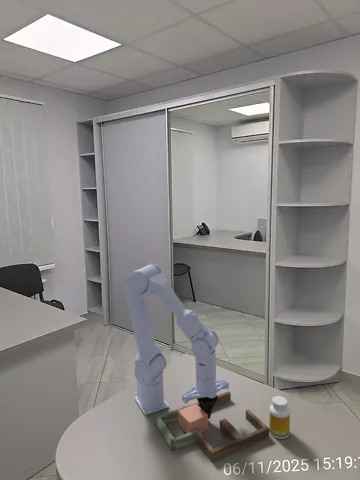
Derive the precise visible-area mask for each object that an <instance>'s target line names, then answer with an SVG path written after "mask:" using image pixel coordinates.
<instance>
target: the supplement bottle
mask: <svg viewBox="0 0 360 480" xmlns="http://www.w3.org/2000/svg"><path fill="white" fill-rule="evenodd" d="M271 400H272V401H271V402H272V403H271V405H270V406H269V417H268V418H269V419H268V428H269V435H271V436H272V437H274V438H276V439H279V440H280V439H281V440H284V439H286V438H288V437H289V436H290V430H291V429H290V426H291V425H290V423H291V409H290V408H289V406H288V400H287V398H286V397H284V396H282V395H277V396H273V397H272V398H271Z"/></svg>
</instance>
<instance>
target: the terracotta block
mask: <svg viewBox="0 0 360 480" xmlns="http://www.w3.org/2000/svg"><path fill="white" fill-rule="evenodd" d="M192 404H193V405H191V404H190V405H191V406H189V407H186V406H185V407H186V408H184V409H182V410H179V411H178V426H179V428H180V429H181V430H182V431H183V432H184V433H185V434H187V433H189V432H192V431H194V430H197V429H198V430H199V432H200V433H201V434H202V433H203V432H206V431H208V430H209V419H208V414H207V413H205V412H204V411H203V410H202V409H201V408H200V407H199V406H198V405H197V404H194V403H192Z"/></svg>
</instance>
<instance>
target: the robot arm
mask: <svg viewBox="0 0 360 480" xmlns="http://www.w3.org/2000/svg"><path fill="white" fill-rule="evenodd" d="M125 282H126V291H125V299H126V303H127V308H128V311H129V316H130V320H131V325H132V329H133V334H134V338H135V342H136V347H137V354H136V355H135V358H134V362H133V363H134V370H133V371H134V376H135V378H136V390H137V396H135V397H134V400H135V401H136V403H137V405H138V406H139V408H140V409H141V412H142V413H143V414H144V416H148V415H150V414H153V413H156V412H159V411H162V410H165V409H167V408H169V407H170V405H169V404H168V402H167V400H166V399H165V397H164V395H165V394H164V393H165V392H164V370H165V369H166V367H167V364H168V363H167V360H166V357H165V355H164V354H163V352H162V348H161V347H159V346H158V345H156V342H155V337H154V332H153V328H152V323H151V319H150V315H149V309H148V305H147V301H146V296H147V295H148V296H153V297H154V296H155V297H159V299H160V300H161V301H162V302H163V304H165V305H166V307H167V308H168V309H169V310H170V311H171V312H172V313H173V314H174V316H175V317H176V323H175V324H176V325H177V326H178V327H179V329H180V331H182V333H183V334H184V335H185V336H186V338H187V339H188V341H189V342H190V343H191V344H192V345H191V346H190V348H191V351H192V353H193V354H194V356H195V357H194V358H195V385H194V386H193V387H191V388H190V389H188V390H187V391H185V392H183V393H181V401H182V402H183V403H184V404H189V402H190V401H192V400H197V402H199V404H200V407H201V409H202V410H203V411H204V412H205V413H207V414H208V420H210V419H211V415H212V412H213V410H214V407H215V406H214V405H215V403H216V402H217V400H218V396H217V393H219V392H220V391H221V390H224V389H225V390H228V389H230V382H229V381H228V380H227V379H221V380H217V360H216V359H217V358H216V354H217V353H216V348H217V346H218V344H219V337H218V336H217V334H216V332H215V331H214V330H212V329H210V328H208V327H206V326H205V325H204V324H203V322H202V321H201V320H200V319H199V314H197V313H196V312H194V311H193V310H191V309H187V308H186V307H185V306H184V304H183V303H182V301H181V299H180V298H179V297H178V296H177V294H176V292H175V291H174V290H173V288H172V287H171V285H170V284H169V282H168V279H167V276H166V274H165V273H164V271H163V270H162V269H161V268H160V267H159V265H158V264H155V263H149V264H147V265H145V266H144V267H143V266H142V268H139V269H137V270H133V271H132V272H131V273H129V275H128V276H127V277H126V278H125Z"/></svg>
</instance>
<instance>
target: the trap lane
mask: <svg viewBox="0 0 360 480" xmlns="http://www.w3.org/2000/svg"><path fill="white" fill-rule="evenodd" d="M216 395H217V394H216ZM217 396H218V400H217V402H216V403H215V405H214V407H216V406H219V405H221V404H224V403H226V402H229V401H231V400H232V393H231V391H226V392H223V393H221V394H218V395H217ZM193 404H197V405H198V406H199V407H200V404H199V402H198V401H196V402H195V403H191V404H189V405H186V406H183V407H181V408H178V409H175V410H171V411H169V412H166V413H163V414H161V415H158V416H155V425H156V427H157V428H158V430H159V431H160V433H161V434H162V436H163V438H164V440H165V441H166V442H167V444H168V446H169V447H170V449H171V451H175V450H178V449H181V448H183V447H185V446H189V444H193V443H195V442H196V443H197V444H198V445H199V447H200V448H201V450H202V451H203V452H204V454H205V455H206V456H207V458H208V459H209V460H210V461H211V463H214V462H216V461H218V460H221V459H223V458H225V457H227V456H230V455H231V454H234V453H236V452H238V451H241V450H243V449H246V448H247V447H250V446H252V445H254V444H256V443H258V442H261V441H263V440H265V439H267V438H269V437H270V432H269V426H267V425H266V424H265V423H264V422H263V421H262V420H261V419H260V418H258V417H257V416H256V415H255V414H254V413H253V411H251V410H250V409H246V410H245V419H246V421H248V422H249V423H250V424H251V425H252V426H253V427H254V428H255V429H256V430H255V431H252V432H250V433H248V434H245V435H242V434H241V433H240V432H239V431H238V430H237V429H236V428H235V427H234V426H233V425H232V423H230V421H229V420H228V419H227V418H226V417H225V418H223V419H220V420H219V430H220V431H221V432H222V433H223V434H224V435H225V436H226V438H227V439H228V440H229V441H228V442H226V443H224V444H222V445H220V446H217V447H215V448H213V446H212V445H211V444H210V443H209V442H208V440H207V439H206V438H205V437H204V435H203V434H202V433H200V432H199V430H198V429H197V430H194V431H192V432H189V433H187V434H186V433H185V434H184V433H183V434H181V435H179V436H176V437H174V436H173V434H172V433H171V431H170V430H169V429H168V427H167V424H170V423H171V422H175V421H177V420H178V411H179V410H182V409H184V408H186V407H189V406H191V405H193ZM200 408H201V407H200ZM178 421H179V420H178Z"/></svg>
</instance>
